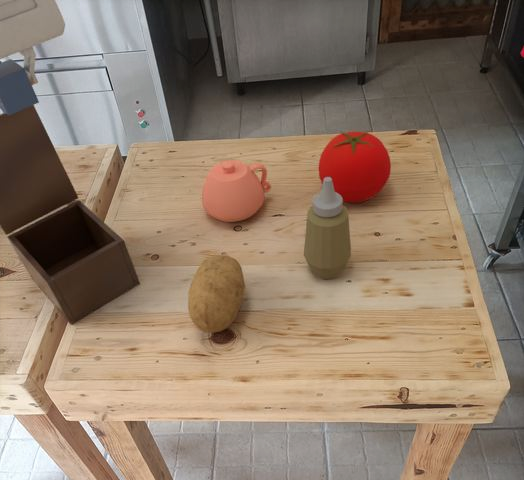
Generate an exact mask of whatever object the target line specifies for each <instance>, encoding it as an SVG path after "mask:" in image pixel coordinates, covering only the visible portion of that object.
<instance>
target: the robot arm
mask: <svg viewBox="0 0 524 480" xmlns="http://www.w3.org/2000/svg"><path fill="white" fill-rule="evenodd" d="M62 14H63V13H62V12H61V10H60V7H59V5H58V3H57V1H56V0H0V60H2V59H4V58H7V57H10V56H12V55H15V54H17V53H19V54H20V55H21V56H23V68H24V69H25V71H26V73H27V75H28V78H29V80H30V82H31V85H32V86H34V85H36V84H38V83H39V81H38V78H37V76H36V73H35V65H36V56H37V54H36V51H35V49H34V47H35V46H38V45H40V44H44V43H45V42H48V41H51V40H53V39H56V38H58V37H60V36H63V35H64V32H65V28H66V22H65V20H64V17H63V15H62Z"/></svg>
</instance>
